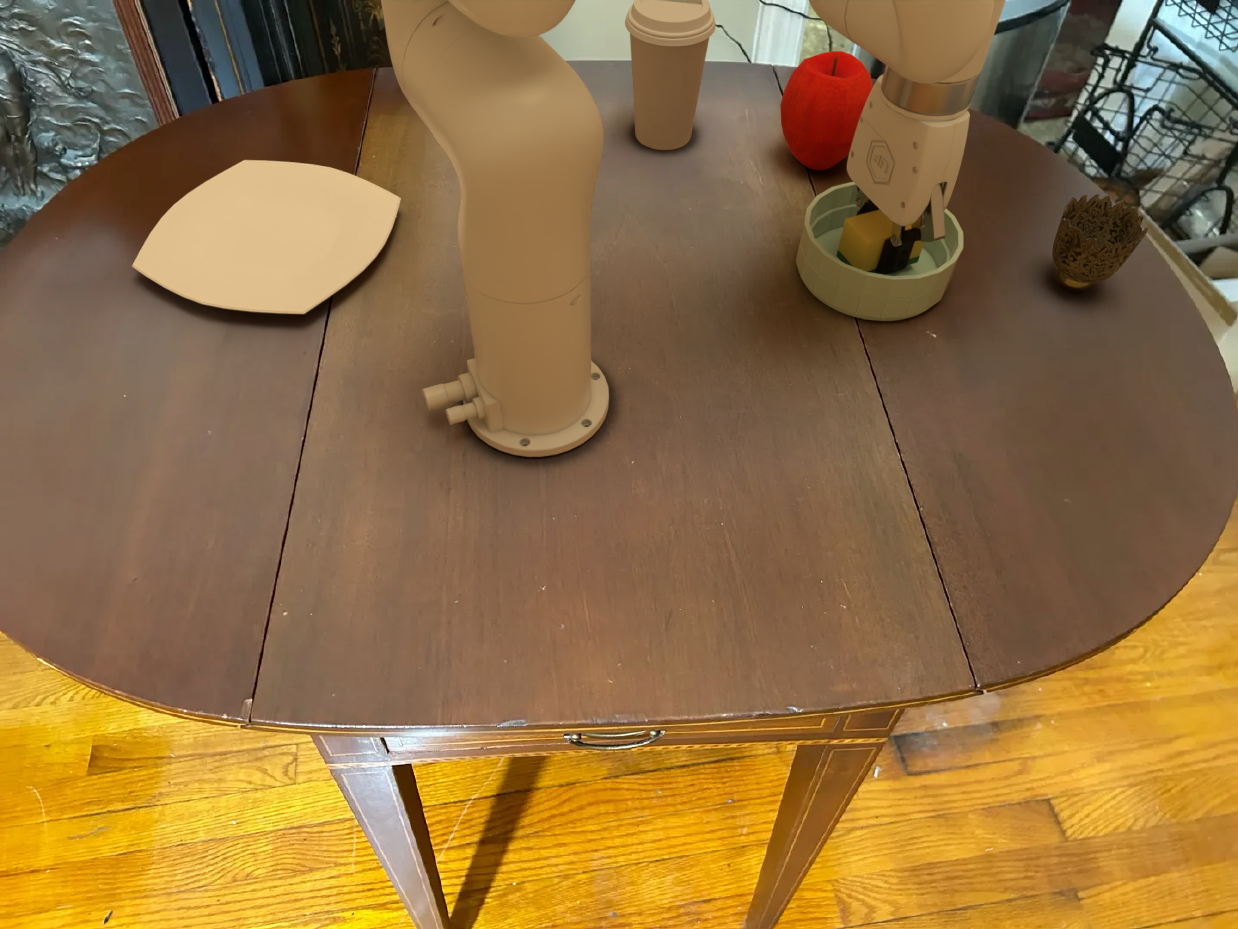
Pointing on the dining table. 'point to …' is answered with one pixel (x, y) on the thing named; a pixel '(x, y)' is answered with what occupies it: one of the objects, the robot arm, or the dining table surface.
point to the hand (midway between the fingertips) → (877, 254)
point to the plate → (269, 237)
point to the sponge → (869, 241)
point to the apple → (824, 107)
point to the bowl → (863, 289)
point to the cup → (1094, 241)
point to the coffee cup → (667, 67)
